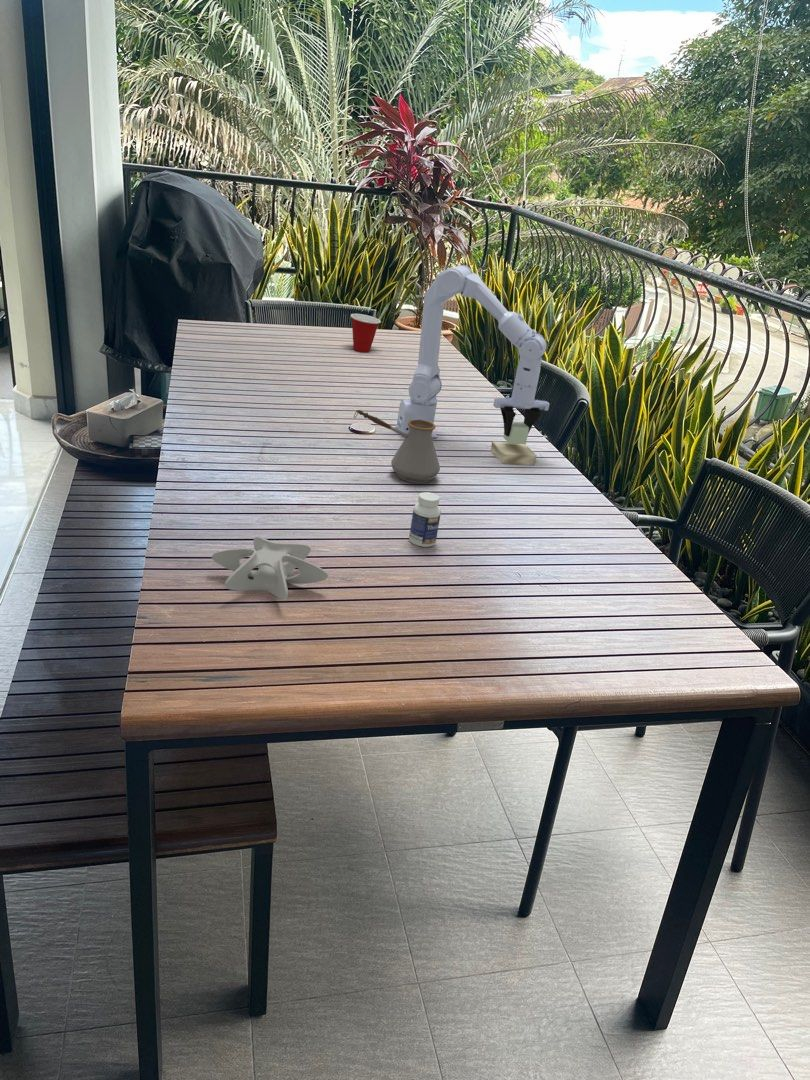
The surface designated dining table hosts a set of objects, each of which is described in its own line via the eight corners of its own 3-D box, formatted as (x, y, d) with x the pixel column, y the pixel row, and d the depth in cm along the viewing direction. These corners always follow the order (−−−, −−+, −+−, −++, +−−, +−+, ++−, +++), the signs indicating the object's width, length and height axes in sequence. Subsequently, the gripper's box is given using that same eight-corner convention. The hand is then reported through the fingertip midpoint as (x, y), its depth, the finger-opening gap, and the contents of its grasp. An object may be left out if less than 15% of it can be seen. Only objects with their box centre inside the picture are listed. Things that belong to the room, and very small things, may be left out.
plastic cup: (376, 356, 294) (380, 322, 289) (346, 352, 294) (349, 317, 289) (378, 349, 304) (382, 316, 299) (348, 345, 304) (351, 311, 298)
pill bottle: (426, 550, 161) (434, 504, 157) (403, 541, 164) (410, 495, 159) (440, 541, 166) (448, 496, 161) (417, 532, 168) (424, 488, 164)
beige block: (501, 465, 212) (503, 454, 210) (490, 452, 219) (492, 441, 218) (534, 466, 214) (536, 455, 213) (521, 453, 222) (524, 443, 221)
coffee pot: (433, 469, 202) (443, 409, 195) (442, 487, 191) (452, 425, 185) (345, 462, 198) (352, 401, 191) (349, 481, 187) (357, 417, 181)
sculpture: (231, 618, 131) (232, 583, 128) (204, 559, 147) (205, 526, 144) (336, 607, 138) (340, 573, 135) (300, 552, 154) (303, 521, 151)
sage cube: (509, 443, 213) (513, 427, 212) (503, 437, 217) (506, 421, 215) (525, 444, 215) (529, 427, 213) (519, 438, 219) (522, 421, 217)
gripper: (504, 387, 204) (494, 439, 210) (558, 390, 208) (547, 441, 214) (494, 378, 210) (485, 430, 216) (546, 382, 214) (536, 432, 220)
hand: (515, 435), depth 215 cm, fingers closed on sage cube, 4 cm apart
